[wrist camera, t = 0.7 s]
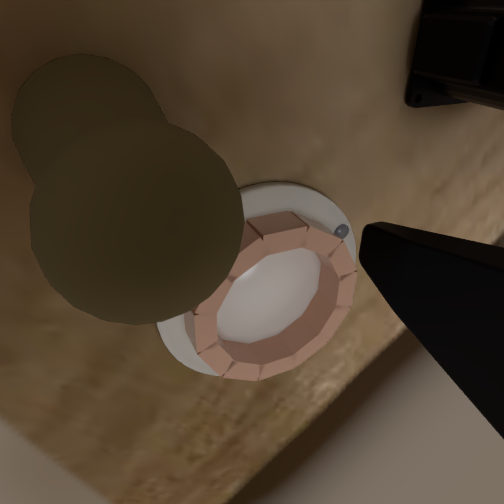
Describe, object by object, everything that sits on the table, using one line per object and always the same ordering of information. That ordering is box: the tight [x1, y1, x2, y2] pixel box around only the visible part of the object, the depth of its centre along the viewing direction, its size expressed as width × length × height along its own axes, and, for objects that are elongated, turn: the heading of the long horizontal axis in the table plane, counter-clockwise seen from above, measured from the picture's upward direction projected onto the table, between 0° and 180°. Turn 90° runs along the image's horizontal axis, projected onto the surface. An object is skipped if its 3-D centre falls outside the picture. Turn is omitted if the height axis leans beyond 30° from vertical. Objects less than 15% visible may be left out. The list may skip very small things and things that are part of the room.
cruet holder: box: [156, 182, 357, 381], centre depth 25 cm, size 13×13×3 cm
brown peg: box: [11, 54, 245, 325], centre depth 14 cm, size 6×6×11 cm
